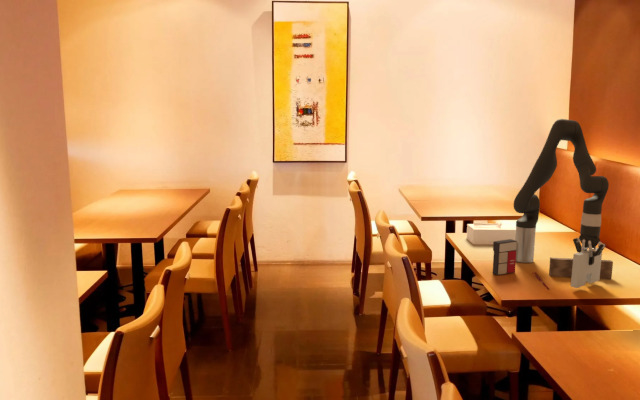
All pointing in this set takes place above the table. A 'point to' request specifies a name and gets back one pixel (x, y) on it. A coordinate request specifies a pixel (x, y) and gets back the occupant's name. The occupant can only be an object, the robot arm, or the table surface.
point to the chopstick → (540, 279)
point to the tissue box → (489, 232)
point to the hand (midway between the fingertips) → (587, 263)
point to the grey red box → (504, 256)
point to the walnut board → (564, 265)
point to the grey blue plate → (585, 269)
